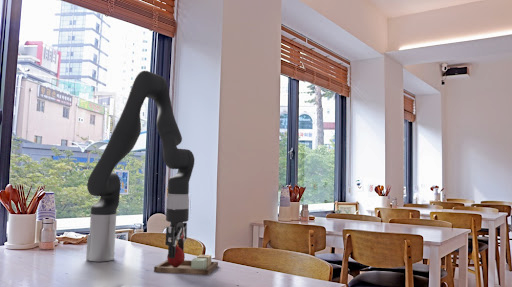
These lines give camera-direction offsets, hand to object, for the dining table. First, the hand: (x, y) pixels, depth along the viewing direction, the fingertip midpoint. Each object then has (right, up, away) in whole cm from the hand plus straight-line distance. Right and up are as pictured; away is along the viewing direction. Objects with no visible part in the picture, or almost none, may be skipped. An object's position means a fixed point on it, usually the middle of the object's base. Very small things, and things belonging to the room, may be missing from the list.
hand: (175, 255), depth 146 cm
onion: (0, -4, 0) cm, 4 cm away
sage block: (+8, -4, -5) cm, 10 cm away
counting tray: (+4, -6, -1) cm, 7 cm away
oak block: (+9, -5, +1) cm, 10 cm away
